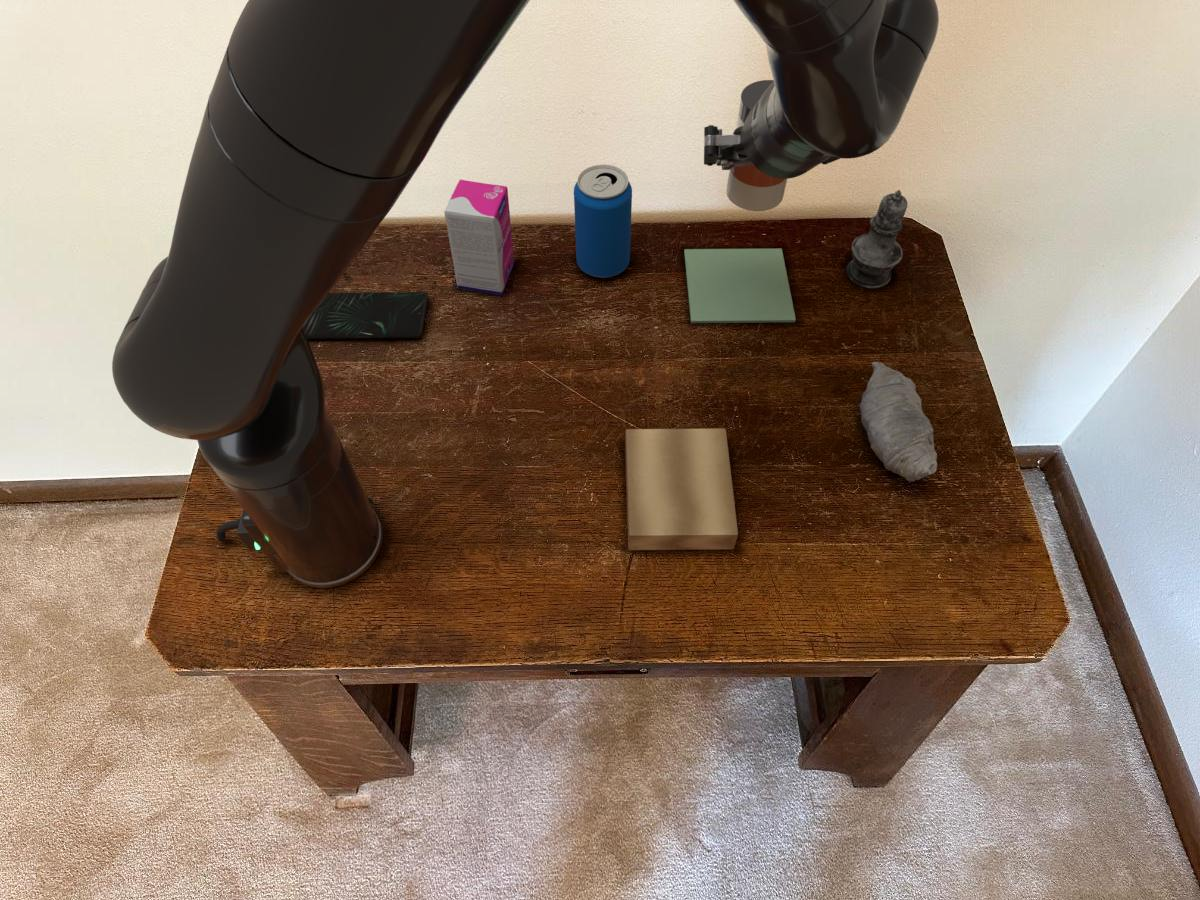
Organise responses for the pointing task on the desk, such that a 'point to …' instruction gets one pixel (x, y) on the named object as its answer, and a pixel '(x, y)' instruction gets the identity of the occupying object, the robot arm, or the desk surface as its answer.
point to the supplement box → (480, 236)
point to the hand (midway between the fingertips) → (757, 159)
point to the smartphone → (368, 315)
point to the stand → (679, 490)
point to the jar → (749, 182)
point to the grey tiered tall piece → (879, 245)
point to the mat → (738, 286)
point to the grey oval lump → (897, 424)
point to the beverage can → (603, 220)
